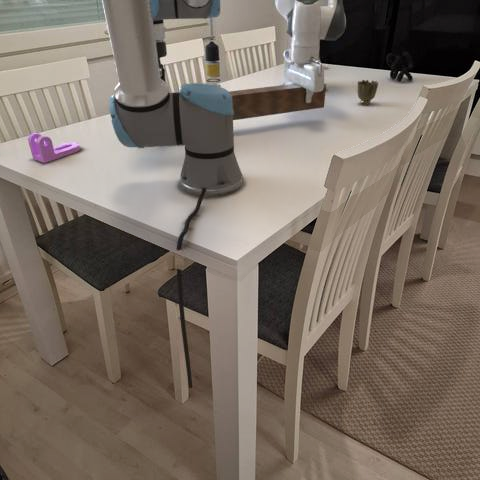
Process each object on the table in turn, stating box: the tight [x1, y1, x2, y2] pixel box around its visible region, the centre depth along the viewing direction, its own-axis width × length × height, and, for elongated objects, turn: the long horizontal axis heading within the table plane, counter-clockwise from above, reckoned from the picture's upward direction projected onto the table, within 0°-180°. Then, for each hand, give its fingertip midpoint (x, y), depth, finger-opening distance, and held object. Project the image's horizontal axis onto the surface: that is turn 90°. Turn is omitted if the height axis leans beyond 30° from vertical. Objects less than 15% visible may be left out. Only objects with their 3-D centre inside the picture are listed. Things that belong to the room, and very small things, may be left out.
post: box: [228, 83, 327, 121], centre depth 139 cm, size 62×5×8 cm, turn 113°
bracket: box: [27, 132, 81, 164], centre depth 127 cm, size 13×6×7 cm, turn 143°
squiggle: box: [385, 51, 414, 83], centre depth 198 cm, size 11×10×15 cm
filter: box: [204, 18, 222, 87], centre depth 175 cm, size 6×6×30 cm
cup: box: [357, 79, 379, 106], centre depth 166 cm, size 8×7×8 cm
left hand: (161, 125), depth 132 cm, fingers closed on post, 5 cm apart
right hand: (302, 99), depth 147 cm, fingers closed on post, 5 cm apart
